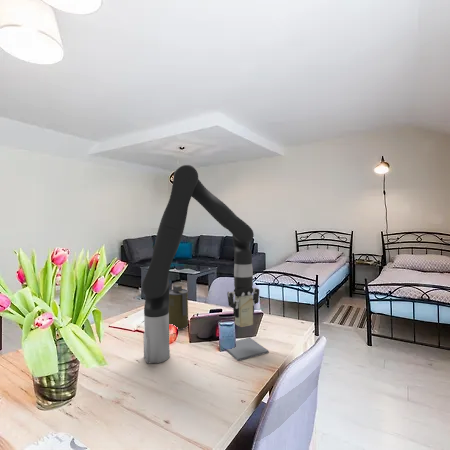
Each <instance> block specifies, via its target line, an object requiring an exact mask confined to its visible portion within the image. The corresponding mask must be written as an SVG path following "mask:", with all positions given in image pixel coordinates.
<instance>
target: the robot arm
mask: <svg viewBox="0 0 450 450" xmlns="http://www.w3.org/2000/svg"><path fill="white" fill-rule="evenodd" d="M191 198H193V200H195V201H196V202H198V203H199V205H201V206H202V207H203V209H205V210H206V211H207V212H208V214H209V215H210V216H211V217H212V218H213V219H214V220H215V221H217V222H218V224H219V225H221V226H222V227H223V228H224V229H226V230H228V231H229V232H230V234H232V245H233V251H234V257H233V258H234V268H233V280H234V281H233V285H234V287H233V288H234V289H233V290H232V291H227V293H226V295H227V301H228V302H227V303H228V306H229V307H230V308H231V309H232V310H233V312H232V313H233V316H234V318H235V317H236V318H238V317H239V309H238V307H239V303H240V298H239V296H240V297H244V296H246V295H248V296H250V295H253V314H254V313H255V305H256V304H258V303H259V300H260V289H259V288H257V287H253V286H254V272H253V256H252V255H253V254H252V250H251V248H250V242H252V240H253V239H254V236H255V235H254V230H253V229H252V227H251V226H249V225H248V224H247V223H246V222H245V221H244V220H243V219H241V218H240V217H239V216H237V214H235V212H233V210H232V209H231V208H229V206H228V205H227V204H226V203H224V201H222V200H220V198H219V197H217V196H216V195H214V194H213V193H212V192H211V191H210V190H208V188H206V186H205V185H204V184H203V183H202V182H201V180H200V179H199V173H198V171H197V169H196V168H195V167H194V166H193V165H191V164H187V163H186V164H181V165H179V166H178V167H177V168H176V169H175V170H174V172H173V181H172V186H171V192H170V196H169V200H168V203H166V207H165V209H164V211H163V214H162V217H161V219H160V222H159V225H158V226H159V227H158V228H157V229H158V230H157V233H156V237H155V241H154V246H153V251H152V256H151V260H150V264H149V267H148V269H147V271H146V274H145V277H144V278H143V280H142V283H141V288H142V292H143V294H144V295H145V296H144V297H145V299H144V308H143V312H144V313H143V315H144V316H143V317H144V320H143V321H144V332H143V334H142V335H143V358H144V360H145V362H146V364H158V363H163V362H166V361H167V360H168V359H170V355H171V354H170V351H171V350H170V329H169V290H170V279H169V274H170V270H171V265H172V263H173V260H174V257H175V256H176V254H177V251H178V249H179V248H180V247H179V246H180V244H181V241H182V237H183V234H184V231H185V225H186V222H187V216H188V210H189V206H190V202H191ZM235 295H236V297H238V298H239V300H236V297H235ZM236 302H237V303H236Z"/></svg>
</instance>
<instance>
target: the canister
mask: <svg viewBox="0 0 450 450" xmlns="http://www.w3.org/2000/svg"><path fill="white" fill-rule="evenodd" d="M188 293H189V290H188V289H185V288H183V287H182V285H179V284H175V285H172V289H169V324H173V325H175V326H176V327H178V329H181V330H184V329H183V328H185V329H187V328H188V327H189V326H188V324H189V298H188V297H189V295H188ZM187 326H188V327H187ZM186 327H187V328H186Z"/></svg>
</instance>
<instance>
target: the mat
mask: <svg viewBox="0 0 450 450" xmlns="http://www.w3.org/2000/svg"><path fill="white" fill-rule="evenodd" d="M235 341H236V347H235V348H232V349H227V351H226V352H227V353H228V354H229V355H230V356H232V357H233V358H234V359H235V360H236V361H237V362H239V361H243V360H247V359H250V358H255V357H257V356H261V355H265V354H269V353H270V351H269V350H268V349H267V348H266V347H264V346H262V345H261V344H260V343H258V342H257V341H256V340H254V339H252V338H251V337H247V338H243V339H238V340H235Z"/></svg>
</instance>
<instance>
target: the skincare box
mask: <svg viewBox="0 0 450 450" xmlns="http://www.w3.org/2000/svg"><path fill="white" fill-rule="evenodd" d="M235 297H236V295H235V294H234V298H235ZM239 298H240V303H239V307H238V309H239V317H238V318H236V317H235V316H234V324H235V325H236V326H238V327H240V328H244V327H249V326H253V325H254V313H253V294H251V295H250V296H248V295H246V296H244V297H240V296H239ZM239 298H238V297H236V300H239ZM236 303H237V302H236Z"/></svg>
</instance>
